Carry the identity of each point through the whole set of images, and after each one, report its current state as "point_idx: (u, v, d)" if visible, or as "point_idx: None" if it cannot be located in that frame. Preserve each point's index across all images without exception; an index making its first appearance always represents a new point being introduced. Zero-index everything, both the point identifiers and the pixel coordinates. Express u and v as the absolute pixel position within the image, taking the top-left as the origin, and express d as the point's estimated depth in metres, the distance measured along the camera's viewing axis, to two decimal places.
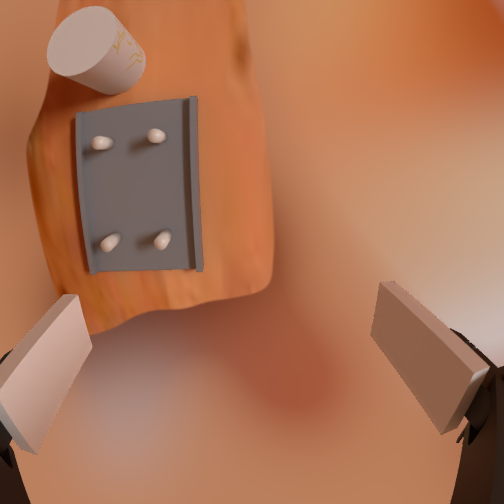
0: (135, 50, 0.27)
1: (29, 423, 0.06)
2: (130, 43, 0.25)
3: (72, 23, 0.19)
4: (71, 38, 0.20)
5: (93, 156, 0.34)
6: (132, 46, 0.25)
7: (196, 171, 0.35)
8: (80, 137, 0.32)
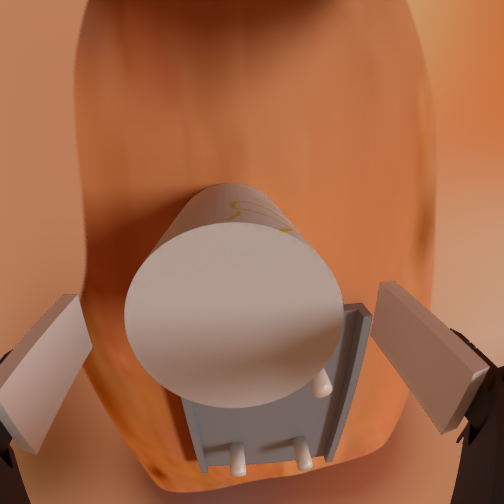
0: None
1: (29, 423, 0.06)
2: None
3: (195, 274, 0.10)
4: (205, 324, 0.10)
5: None
6: None
7: (352, 396, 0.26)
8: None
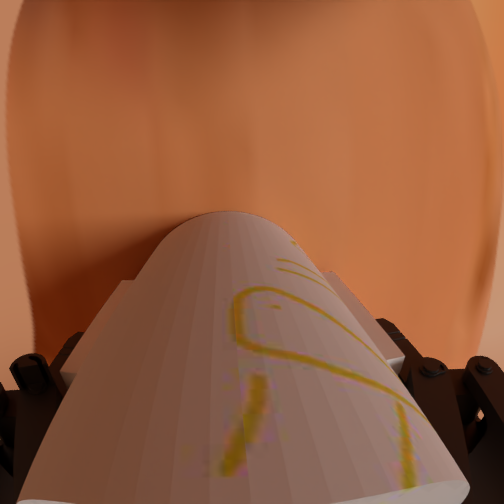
0: None
1: None
2: None
3: None
4: None
5: None
6: None
7: None
8: None
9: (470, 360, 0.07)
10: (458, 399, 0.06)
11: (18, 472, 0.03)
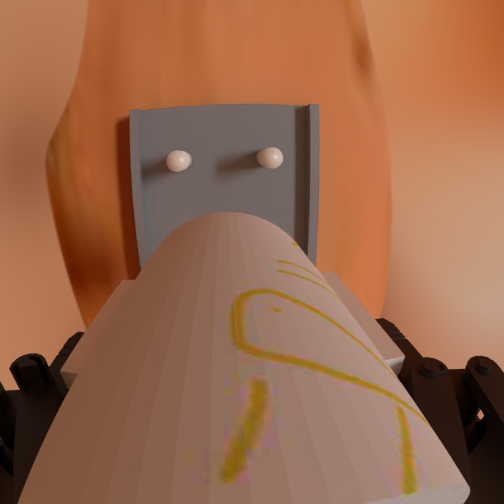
0: None
1: None
2: None
3: None
4: None
5: (158, 178, 0.25)
6: None
7: (316, 210, 0.26)
8: (138, 148, 0.23)
9: (470, 360, 0.07)
10: (458, 399, 0.06)
11: (18, 472, 0.03)
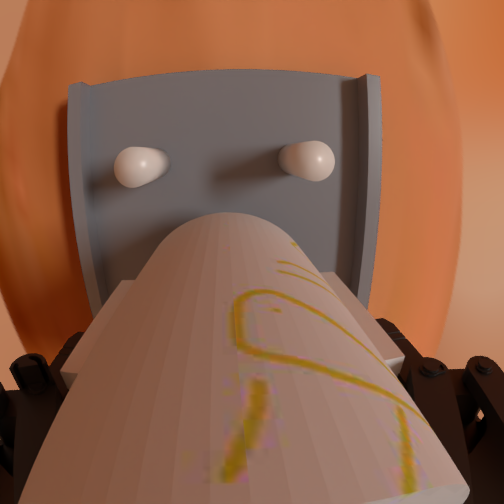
0: None
1: None
2: None
3: None
4: None
5: (114, 194, 0.15)
6: None
7: (373, 247, 0.16)
8: (79, 147, 0.13)
9: (470, 360, 0.07)
10: (458, 399, 0.06)
11: (18, 472, 0.03)
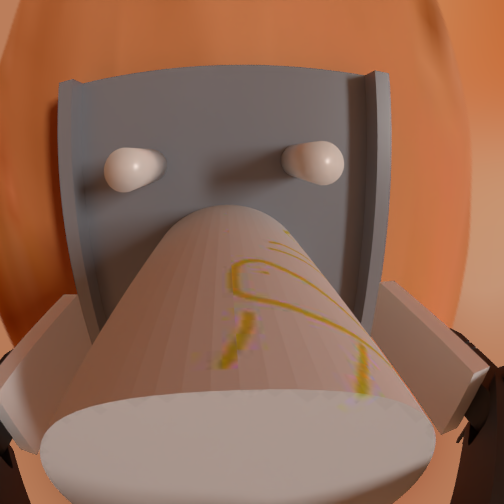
0: None
1: (29, 423, 0.06)
2: None
3: (155, 465, 0.03)
4: None
5: (107, 198, 0.14)
6: None
7: (382, 254, 0.15)
8: (70, 148, 0.12)
9: None
10: None
11: None
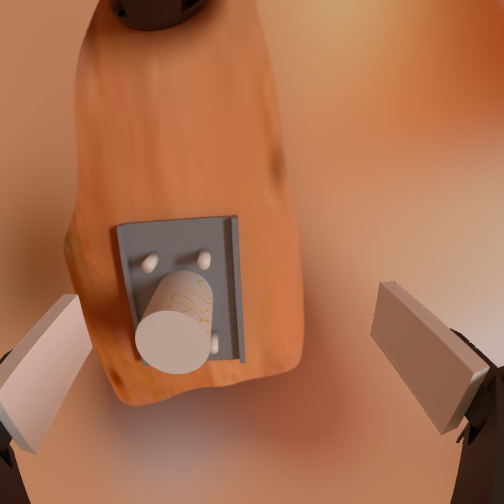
0: (211, 312, 0.37)
1: (29, 423, 0.06)
2: (211, 319, 0.35)
3: (157, 325, 0.29)
4: (162, 341, 0.30)
5: (139, 268, 0.40)
6: (211, 317, 0.36)
7: (240, 287, 0.41)
8: (124, 251, 0.38)
9: None
10: None
11: None
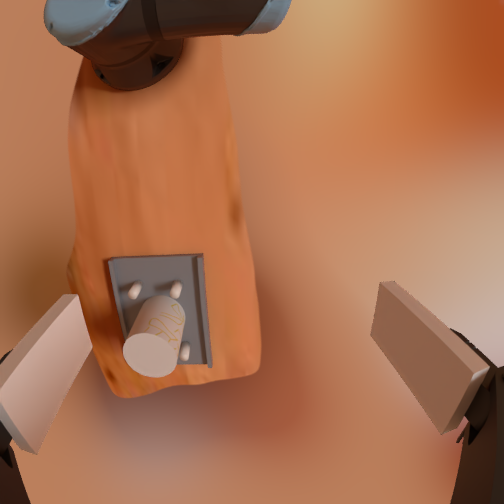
0: (181, 330, 0.47)
1: (29, 423, 0.06)
2: (180, 337, 0.45)
3: (138, 342, 0.39)
4: (142, 353, 0.40)
5: (127, 292, 0.49)
6: (181, 334, 0.45)
7: (205, 310, 0.50)
8: (115, 280, 0.47)
9: None
10: None
11: None
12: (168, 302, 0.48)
